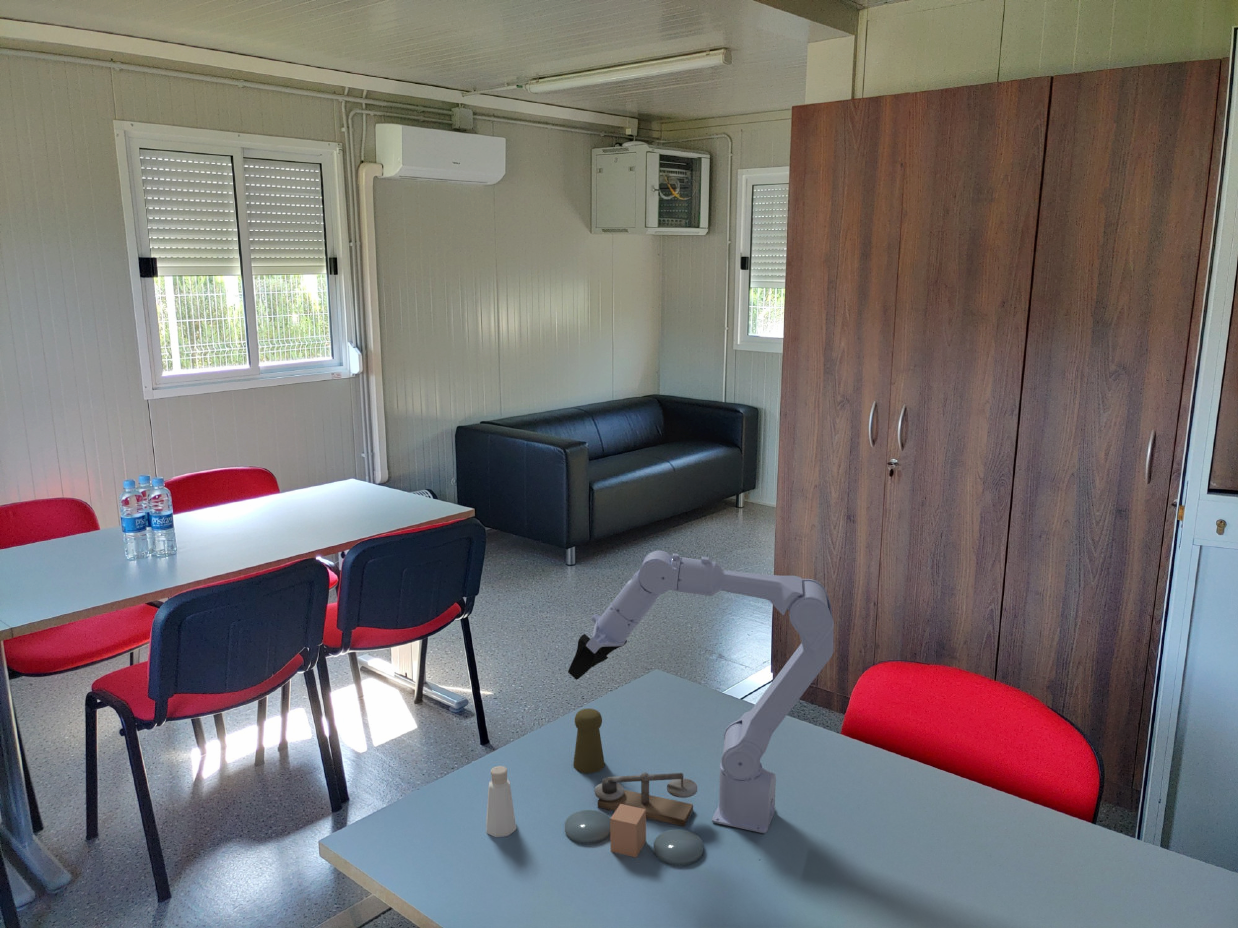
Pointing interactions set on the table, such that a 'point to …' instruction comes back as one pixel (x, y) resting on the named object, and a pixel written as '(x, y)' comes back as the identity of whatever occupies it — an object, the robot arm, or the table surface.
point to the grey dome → (587, 826)
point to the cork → (588, 742)
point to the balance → (649, 796)
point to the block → (628, 830)
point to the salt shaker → (500, 804)
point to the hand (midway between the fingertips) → (581, 668)
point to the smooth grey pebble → (678, 847)
